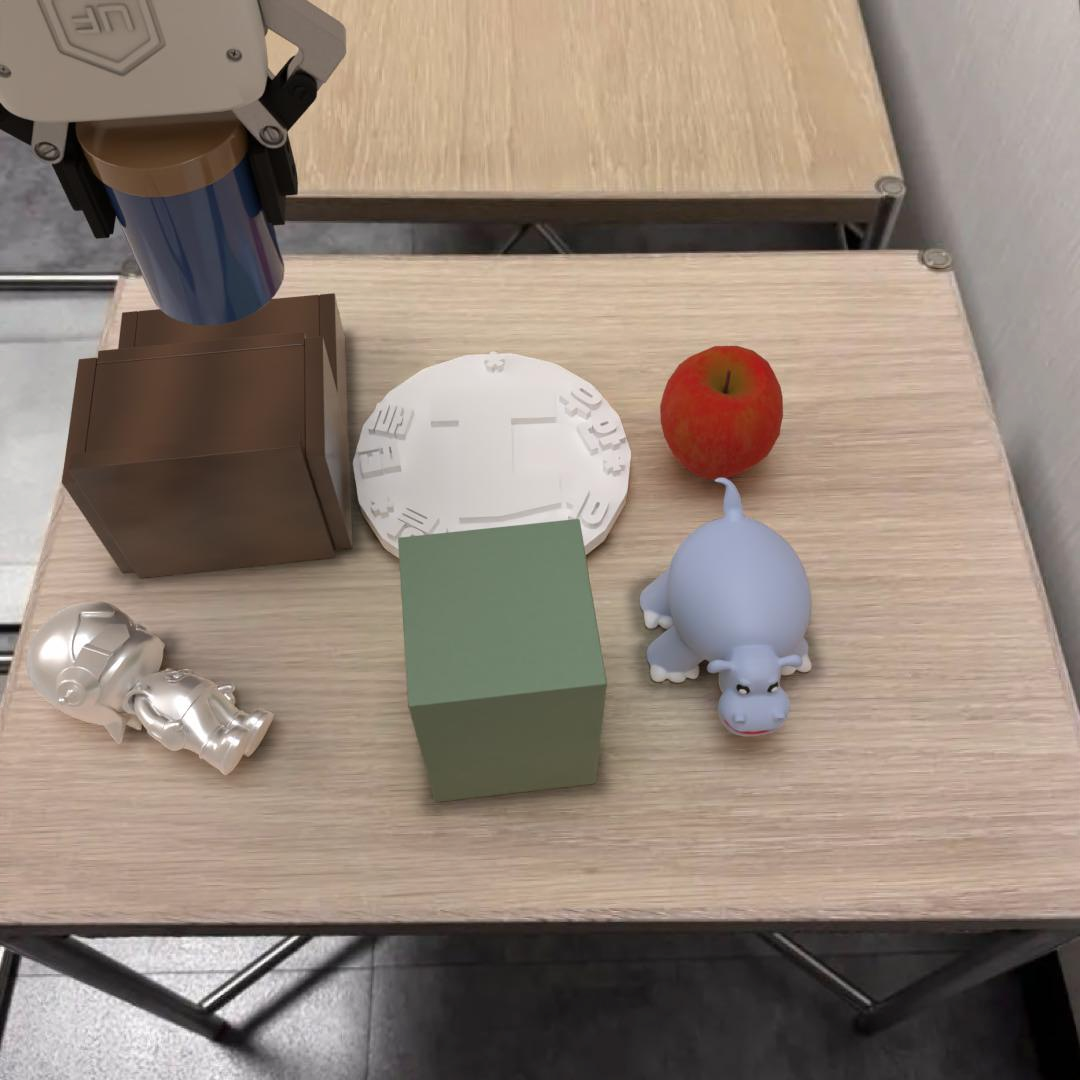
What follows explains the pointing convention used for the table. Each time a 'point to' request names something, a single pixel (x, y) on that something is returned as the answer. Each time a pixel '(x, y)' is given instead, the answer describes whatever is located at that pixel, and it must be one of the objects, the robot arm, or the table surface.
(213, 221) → the jar
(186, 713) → the figurine
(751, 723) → the hippopotamus toy
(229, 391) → the wooden storage crate
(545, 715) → the stand
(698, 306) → the table surface
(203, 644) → the table surface
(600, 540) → the white round plaque
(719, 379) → the apple
